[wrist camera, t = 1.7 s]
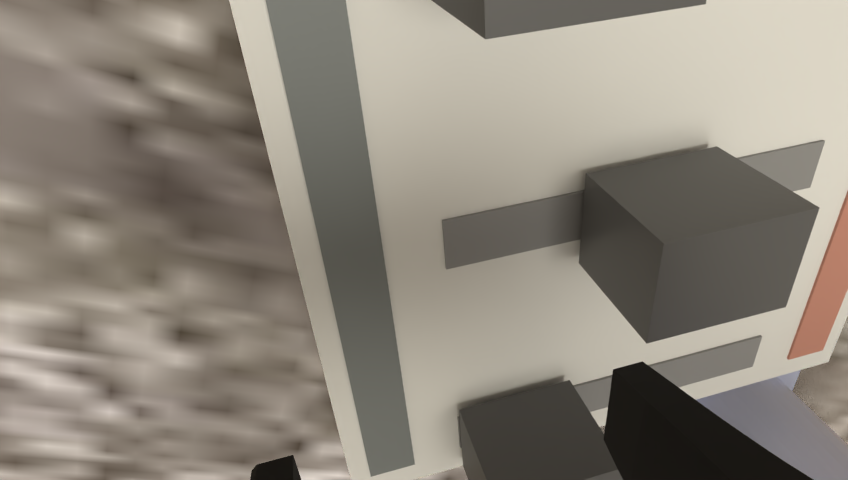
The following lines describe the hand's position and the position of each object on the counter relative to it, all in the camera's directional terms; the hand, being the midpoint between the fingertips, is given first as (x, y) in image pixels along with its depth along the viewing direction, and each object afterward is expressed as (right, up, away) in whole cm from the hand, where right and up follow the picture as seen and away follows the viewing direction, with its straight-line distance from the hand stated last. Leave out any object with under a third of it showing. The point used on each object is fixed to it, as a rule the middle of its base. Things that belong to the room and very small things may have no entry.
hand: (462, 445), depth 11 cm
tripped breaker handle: (+6, +5, +6) cm, 10 cm away
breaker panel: (+5, +6, +9) cm, 12 cm away
